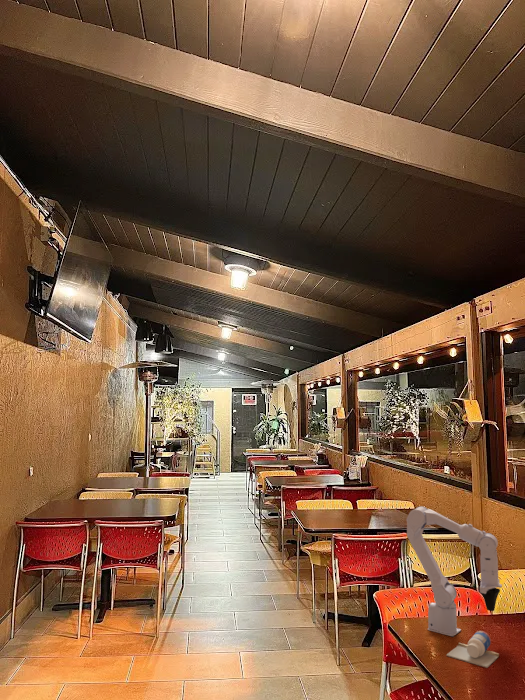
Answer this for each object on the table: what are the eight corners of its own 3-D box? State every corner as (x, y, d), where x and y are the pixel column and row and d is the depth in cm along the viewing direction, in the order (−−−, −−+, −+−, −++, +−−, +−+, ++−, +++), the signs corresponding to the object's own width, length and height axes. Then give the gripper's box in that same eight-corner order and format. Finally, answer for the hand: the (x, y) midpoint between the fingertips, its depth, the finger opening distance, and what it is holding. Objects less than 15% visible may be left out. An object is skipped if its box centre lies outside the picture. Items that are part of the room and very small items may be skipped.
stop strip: (458, 646, 190) (458, 643, 190) (459, 645, 190) (459, 642, 190) (498, 657, 181) (497, 654, 181) (499, 656, 182) (498, 653, 182)
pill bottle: (487, 650, 186) (477, 664, 178) (472, 639, 189) (461, 652, 181) (494, 637, 184) (484, 651, 177) (478, 626, 187) (468, 639, 180)
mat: (446, 655, 182) (446, 654, 182) (458, 646, 190) (458, 645, 190) (487, 667, 174) (487, 666, 174) (498, 657, 181) (497, 656, 181)
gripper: (494, 576, 190) (495, 618, 189) (507, 567, 201) (509, 607, 200) (473, 572, 195) (474, 613, 193) (487, 564, 206) (488, 603, 204)
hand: (490, 610), depth 197 cm, fingers closed
